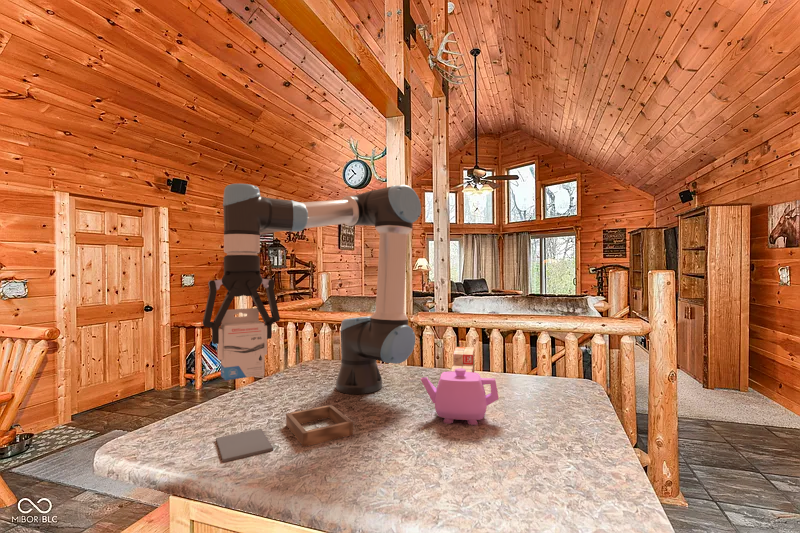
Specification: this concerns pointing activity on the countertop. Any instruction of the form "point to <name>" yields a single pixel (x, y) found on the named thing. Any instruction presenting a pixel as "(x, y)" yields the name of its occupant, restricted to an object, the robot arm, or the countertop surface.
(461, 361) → the stack of blocks
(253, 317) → the ink box
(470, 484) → the countertop surface
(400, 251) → the robot arm
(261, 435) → the rubber mat
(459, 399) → the teapot
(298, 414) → the walnut frame
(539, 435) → the countertop surface
